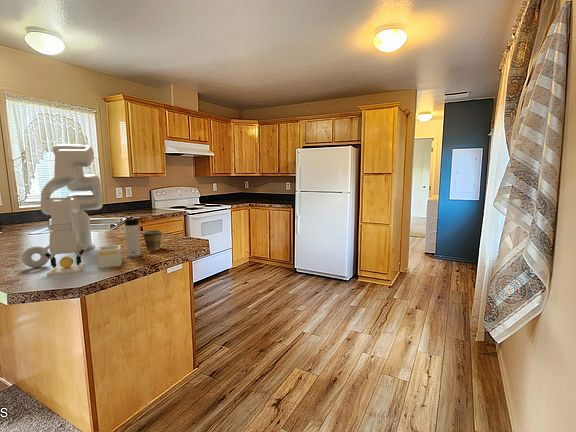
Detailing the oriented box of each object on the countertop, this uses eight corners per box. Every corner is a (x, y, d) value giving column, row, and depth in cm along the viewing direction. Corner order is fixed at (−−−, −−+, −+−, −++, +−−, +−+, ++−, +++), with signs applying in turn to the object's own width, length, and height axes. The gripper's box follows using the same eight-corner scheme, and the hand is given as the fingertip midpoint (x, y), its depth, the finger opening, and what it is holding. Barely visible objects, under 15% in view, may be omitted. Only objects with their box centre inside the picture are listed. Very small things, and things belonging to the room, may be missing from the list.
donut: (23, 270, 137) (20, 248, 136) (22, 268, 140) (20, 247, 138) (51, 266, 144) (49, 245, 142) (50, 264, 146) (48, 243, 145)
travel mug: (135, 258, 157) (133, 219, 154) (124, 257, 158) (121, 219, 156) (143, 255, 163) (141, 217, 160) (132, 254, 165) (130, 217, 162)
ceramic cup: (166, 248, 178) (165, 231, 177) (151, 252, 170) (149, 234, 168) (152, 245, 185) (151, 229, 183) (137, 248, 176) (136, 231, 175)
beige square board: (53, 267, 141) (53, 265, 141) (84, 264, 146) (84, 262, 146) (47, 275, 131) (46, 273, 130) (80, 271, 136) (80, 269, 136)
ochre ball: (61, 266, 139) (60, 256, 139) (74, 265, 142) (73, 254, 141) (58, 269, 135) (57, 258, 134) (72, 268, 137) (71, 257, 136)
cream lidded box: (100, 263, 149) (99, 246, 148) (121, 260, 153) (120, 244, 152) (98, 268, 141) (97, 251, 139) (121, 265, 144) (119, 249, 143)
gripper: (35, 230, 129) (40, 270, 131) (85, 227, 136) (88, 265, 139) (40, 227, 135) (44, 266, 138) (87, 224, 143) (90, 261, 145)
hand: (66, 265), depth 138 cm, fingers open, 8 cm apart
